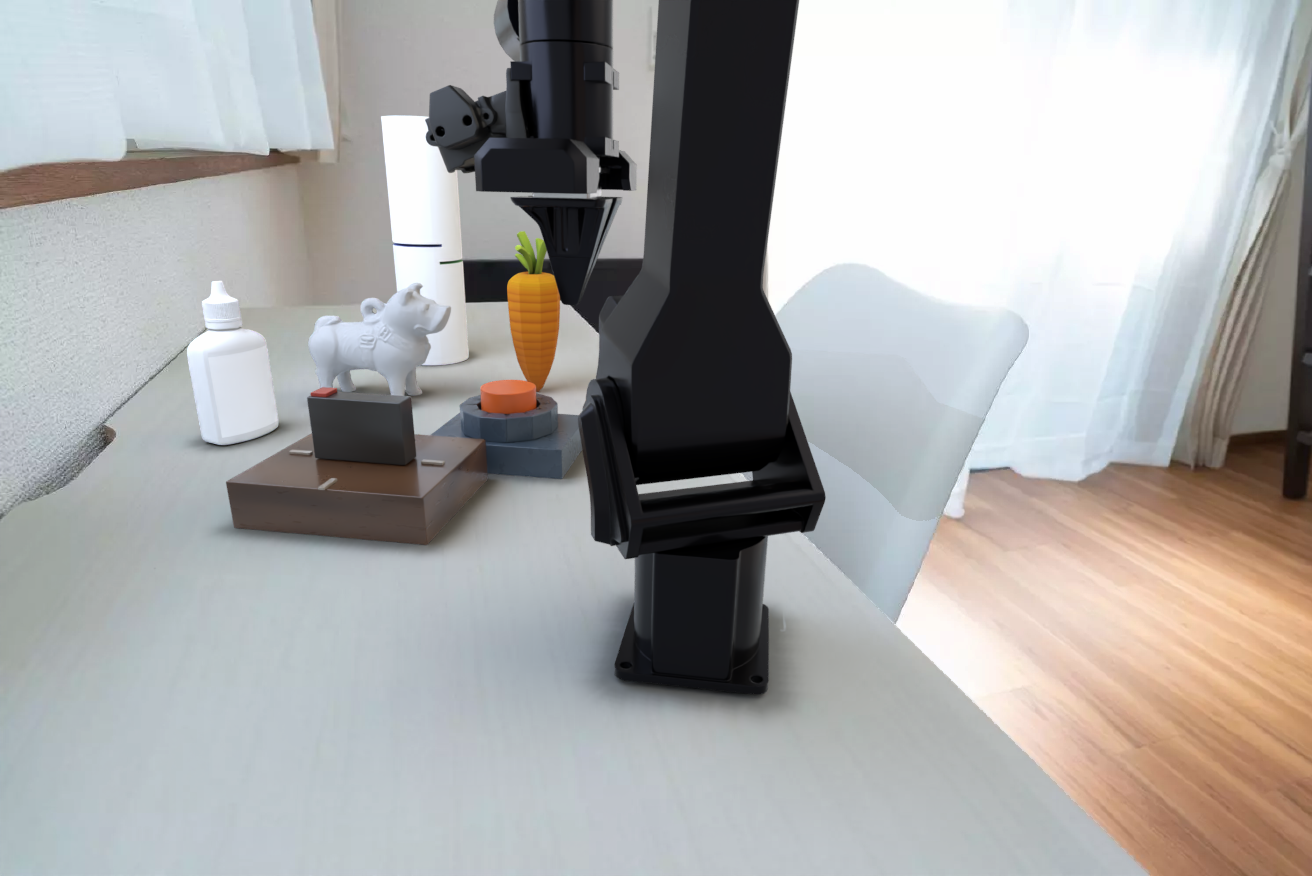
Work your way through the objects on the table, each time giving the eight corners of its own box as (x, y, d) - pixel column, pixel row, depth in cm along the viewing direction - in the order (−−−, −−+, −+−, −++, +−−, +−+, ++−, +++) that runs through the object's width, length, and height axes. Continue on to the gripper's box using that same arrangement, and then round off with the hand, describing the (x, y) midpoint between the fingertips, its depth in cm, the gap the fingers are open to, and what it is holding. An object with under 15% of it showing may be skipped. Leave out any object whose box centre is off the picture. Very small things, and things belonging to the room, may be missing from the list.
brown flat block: (426, 546, 43) (421, 495, 42) (232, 529, 45) (223, 479, 43) (488, 479, 53) (486, 436, 52) (327, 466, 54) (321, 424, 53)
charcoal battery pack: (417, 456, 48) (411, 392, 46) (405, 465, 46) (399, 399, 45) (328, 449, 49) (320, 386, 47) (314, 458, 47) (305, 393, 46)
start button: (527, 419, 54) (526, 395, 53) (473, 415, 54) (471, 392, 54) (542, 403, 58) (542, 381, 57) (492, 400, 58) (491, 378, 57)
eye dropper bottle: (287, 436, 60) (264, 282, 56) (206, 449, 57) (176, 288, 53) (275, 421, 63) (253, 276, 59) (198, 433, 60) (169, 280, 56)
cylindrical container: (399, 353, 87) (377, 118, 79) (461, 348, 90) (447, 121, 82) (408, 367, 81) (385, 114, 73) (474, 362, 84) (460, 118, 76)
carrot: (568, 396, 72) (566, 234, 67) (517, 401, 70) (510, 234, 65) (555, 383, 76) (552, 229, 71) (506, 387, 75) (499, 230, 70)
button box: (562, 479, 53) (560, 425, 51) (425, 469, 54) (421, 415, 53) (587, 441, 60) (587, 393, 59) (467, 433, 62) (464, 385, 60)
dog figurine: (446, 410, 67) (438, 289, 64) (306, 404, 68) (290, 284, 64) (464, 393, 72) (457, 281, 69) (333, 387, 73) (320, 275, 69)
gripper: (490, 70, 56) (500, 282, 61) (368, 19, 39) (396, 323, 44) (638, 70, 55) (636, 288, 60) (583, 18, 37) (586, 332, 42)
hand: (570, 304), depth 51 cm, fingers closed
